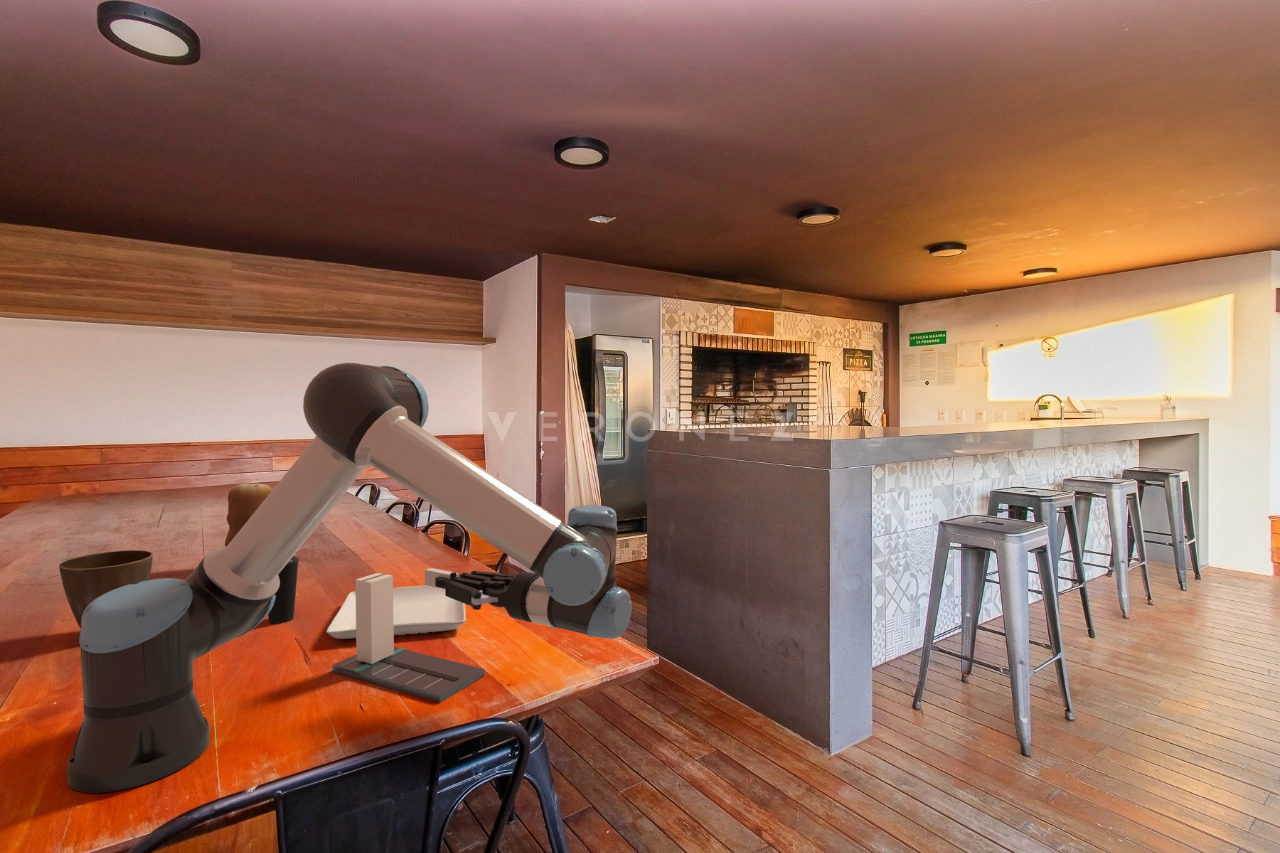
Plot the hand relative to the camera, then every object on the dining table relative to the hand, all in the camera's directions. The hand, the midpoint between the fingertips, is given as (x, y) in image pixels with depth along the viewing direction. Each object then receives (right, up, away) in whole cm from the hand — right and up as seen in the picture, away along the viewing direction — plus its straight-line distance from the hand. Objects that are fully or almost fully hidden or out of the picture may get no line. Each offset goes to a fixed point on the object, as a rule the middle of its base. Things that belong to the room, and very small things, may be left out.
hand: (427, 576), depth 108 cm
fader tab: (-12, -17, +6) cm, 21 cm away
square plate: (-16, -18, +31) cm, 39 cm away
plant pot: (-74, -17, +21) cm, 79 cm away
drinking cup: (-43, -17, +29) cm, 55 cm away
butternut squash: (-77, -15, +72) cm, 106 cm away
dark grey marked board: (-5, -18, +3) cm, 19 cm away
